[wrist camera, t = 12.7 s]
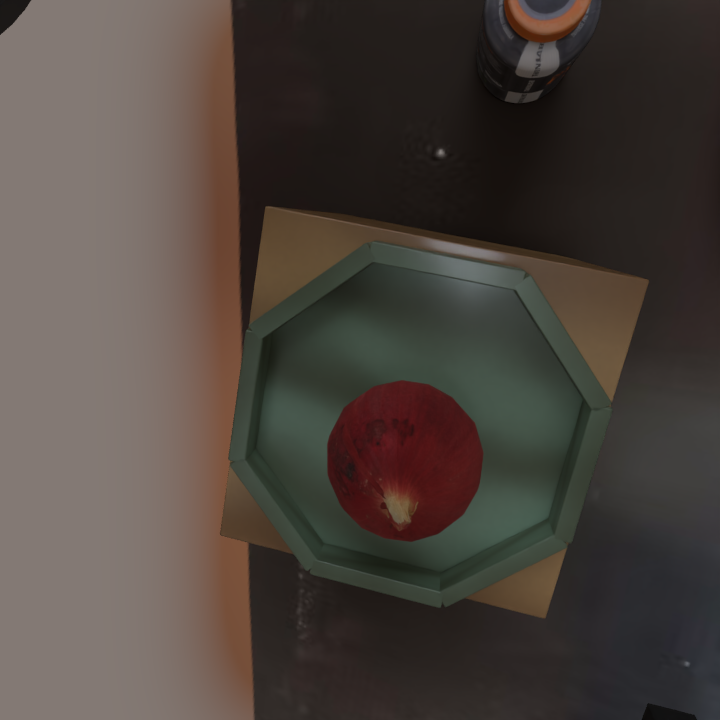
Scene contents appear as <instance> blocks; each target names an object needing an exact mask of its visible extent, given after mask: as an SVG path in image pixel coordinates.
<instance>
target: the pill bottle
mask: <svg viewBox="0 0 720 720" xmlns="http://www.w3.org/2000/svg"><path fill="white" fill-rule="evenodd" d="M600 11H601V0H485V3H484V9H483V15H482V20H481V26H480V32H479V38H478V45H477V52H476V59H477V69H478V73H479V76H480V78H481V80H482V81H483V83H484V85H485V87H486V88H487V89H488V90H489V91H490V92H491V93H492V94H493V95H494V96H496V97H497V98H499V99H501V100H503V101H506V102H511V103H526V102H531V101H534V100H537V99H539V98H541V97H543V96H545V95H546V94H547V93H549V92H550V91H551V90H552V89H553V88H555V87H556V85H557V84H558V83H559V82H560V80H561V79H562V78H563V76H564V75H565V74H566V72H567V71H568V70H569V68H570V67H571V65H572V64H573V63H574V61H575V60H576V59H577V57H578V56H579V55H580V53H581V52H582V51H583V49H584V48H585V46H586V45H587V44H588V42H589V41H590V39H591V37H592V36H593V34H594V31H595V29H596V26H597V23H598V20H599V17H600Z"/></svg>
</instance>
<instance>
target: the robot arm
mask: <svg viewBox="0 0 720 720" xmlns="http://www.w3.org/2000/svg"><path fill="white" fill-rule="evenodd" d="M642 720H697V719H696V717H695V715H692V714H688V713H684V712H680V711H676V710H673V709H669V708H665V707H661V706H657V705H653V704H649V703H648V704H647V707H646V710H645V712H644V715H643V718H642Z"/></svg>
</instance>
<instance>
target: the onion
mask: <svg viewBox="0 0 720 720" xmlns="http://www.w3.org/2000/svg"><path fill="white" fill-rule="evenodd" d="M483 454H484V453H483V449H482V446H481V442H480V439H479V435H478V432H477V428H476V425H475V422H474V421H473V420H472V419H471V418H470V417H469V416H468V415H467V413H466V412H465V411H464V410H463V409H462V408H461V407H460V406H459V404H458V403H457V402H456V401H455V400H454V399H453V397H451V396H449V395H447V394H446V393H444V392H442V391H440V390H438V389H437V388H435V387H433V386H431V385H429V384H424V383H418V382H411V381H405V380H400V381H395V382H391V383H386V384H381V385H377V386H374V387H372V388H371V389H369V390H368V391H366V392H365V393H363V394H362V395H360V396H359V397H358V398H356V399H355V400H353V401H352V402H350V403H349V404H348V405H347V406H345V407H344V408H343V410H342V412H341V414H340V416H339V418H338V420H337V422H336V424H335V426H334V427H333V429H332V431H331V433H330V435H329V439H328V443H327V474H328V477H329V480H330V483H331V485H332V487H333V489H334V492H335V494H336V496H337V498H338V501H339V503H340V505H341V507H342V508H343V509H344V511H345V512H346V513H347V514H348V515H349V516H350V517H351V518H352V519H353V520H354V521H355V522H356V523H357V524H358V525H359V526H360V527H361V528H363V529H365V530H367V531H369V532H372V533H374V534H376V535H378V536H380V537H383V538H385V539H392V540H400V541H407V542H413V541H416V540H420V539H423V538H427V537H430V536H433V535H437V534H439V533H440V532H442V531H443V530H444V529H446V528H447V527H448V526H450V525H451V524H452V523H453V522H455V521H456V520H457V519H459V518H460V517H461V516H462V515H464V513H465V511H466V510H467V508H468V506H469V504H470V503H471V501H472V499H473V497H474V496H475V494H476V492H477V491H478V488H479V484H480V479H481V470H482V462H483Z"/></svg>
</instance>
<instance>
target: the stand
mask: <svg viewBox="0 0 720 720" xmlns="http://www.w3.org/2000/svg"><path fill="white" fill-rule="evenodd" d="M648 283H649V280H648V279H644V278H641V277H637V276H633V275H630V274H626V273H622V272H619V271H615V270H612V269H608V268H604V267H601V266H597V265H594V264H590V263H586V262H583V261H579V260H575V259H572V258H568V257H565V256H559V255H554V254H549V253H544V252H538V251H533V250H528V249H523V248H518V247H512V246H507V245H502V244H497V243H492V242H486V241H481V240H476V239H471V238H465V237H460V236H455V235H450V234H445V233H439V232H434V231H429V230H424V229H419V228H413V227H408V226H403V225H398V224H392V223H387V222H382V221H377V220H372V219H366V218H361V217H356V216H351V215H345V214H338V213H329V212H319V211H310V210H300V209H290V208H281V207H271V206H266V207H265V213H264V220H263V228H262V235H261V242H260V249H259V257H258V264H257V271H256V278H255V286H254V293H253V300H252V307H251V314H250V322H249V329H247V330H246V334H245V341H244V348H243V355H242V363H241V370H240V377H239V384H238V392H237V400H236V406H235V414H234V422H233V428H232V435H231V443H230V451H229V458H228V459H229V460H230V466H229V473H228V481H227V488H226V495H225V503H224V510H223V517H222V524H221V531H220V535H221V536H225V537H229V538H233V539H237V540H241V541H245V542H248V543H252V544H256V545H260V546H264V547H268V548H272V549H276V550H279V551H283V552H287V553H291V554H294V555H295V556H296V558H297V559H298V561H299V562H300V563H301V565H302V566H303V568H304V569H305V570H306V571H307V570H309V569H311V570H310V574H311V575H315V576H319V577H323V578H327V579H331V580H334V581H338V582H342V583H346V584H350V585H354V586H357V587H361V588H365V589H369V590H373V591H377V592H381V593H384V594H388V595H392V596H396V597H400V598H404V599H407V600H411V601H415V602H419V603H423V604H427V605H430V606H434V607H438V608H441V605H442V603H443V605H444V606H445V607H447V606H449V605H451V604H453V603H455V602H457V601H460V600H462V599H464V598H466V599H470V600H474V601H478V602H482V603H485V604H489V605H493V606H497V607H501V608H505V609H509V610H513V611H517V612H520V613H524V614H528V615H532V616H536V617H540V618H546V614H547V611H548V608H549V605H550V601H551V598H552V595H553V592H554V588H555V585H556V582H557V579H558V575H559V572H560V569H561V566H562V562H563V559H564V556H565V553H566V550H567V547H568V543H572V540H573V537H574V534H575V530H576V527H577V524H578V521H579V517H580V514H581V511H582V508H583V504H584V501H585V498H586V495H587V491H588V488H589V485H590V482H591V479H592V475H593V472H594V469H595V466H596V462H597V459H598V456H599V453H600V449H601V446H602V443H603V440H604V437H605V433H606V430H607V427H608V424H609V420H610V417H611V414H612V411H613V410H612V408H611V404H612V400H613V397H614V394H615V390H616V387H617V384H618V381H619V377H620V374H621V371H622V368H623V364H624V361H625V358H626V355H627V351H628V348H629V345H630V342H631V338H632V335H633V332H634V329H635V325H636V322H637V319H638V316H639V312H640V309H641V306H642V303H643V299H644V296H645V293H646V290H647V286H648ZM400 380H405V381H411V382H418V383H424V384H429V385H431V386H433V387H435V388H437V389H438V390H440V391H442V392H444V393H446V394H447V395H449V396H451V397H453V399H454V400H455V401H456V402H457V403H458V404H459V406H460V407H461V408H462V409H463V410H464V411H465V412H466V413H467V415H468V416H469V417H470V418H471V419H472V420H473V421H474V422H475V425H476V428H477V432H478V435H479V439H480V442H481V446H482V449H483V453H484V454H483V462H482V470H481V479H480V484H479V488H478V491H477V492H476V494H475V496H474V497H473V499H472V501H471V503H470V504H469V506H468V508H467V510H466V511H465V513H464V515H462V516H461V517H460V518H459V519H457V520H456V521H455V522H453V523H452V524H451V525H450V526H448V527H447V528H446V529H444V530H443V531H442V532H440V533H439V534H437V535H433V536H430V537H427V538H423V539H420V540H416V541H413V542H407V541H400V540H392V539H385V538H383V537H380V536H378V535H376V534H374V533H372V532H369V531H367V530H365V529H363V528H361V527H360V526H359V525H358V524H357V523H356V522H355V521H354V520H353V519H352V518H351V517H350V516H349V515H348V514H347V513H346V512H345V511H344V509H343V508H342V507H341V505H340V503H339V501H338V498H337V496H336V494H335V492H334V489H333V487H332V485H331V483H330V480H329V477H328V474H327V443H328V439H329V435H330V433H331V431H332V429H333V427H334V426H335V424H336V422H337V420H338V418H339V416H340V414H341V412H342V410H343V408H344V407H345V406H347V405H348V404H349V403H350V402H352V401H353V400H355V399H356V398H358V397H359V396H360V395H362V394H363V393H365V392H366V391H368V390H369V389H371V388H372V387H374V386H377V385H381V384H386V383H391V382H395V381H400Z"/></svg>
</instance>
